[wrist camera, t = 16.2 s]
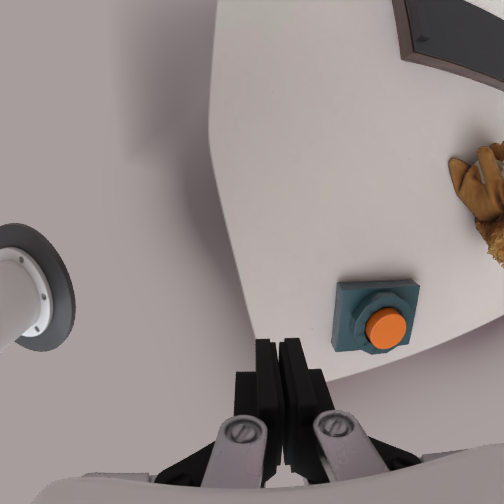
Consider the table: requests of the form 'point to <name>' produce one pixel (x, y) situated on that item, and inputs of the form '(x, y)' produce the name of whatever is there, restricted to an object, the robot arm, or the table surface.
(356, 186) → the table surface
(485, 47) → the lid
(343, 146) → the table surface
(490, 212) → the stuffed squirrel
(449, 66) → the wooden box
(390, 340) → the button
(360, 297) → the dark teal square block
